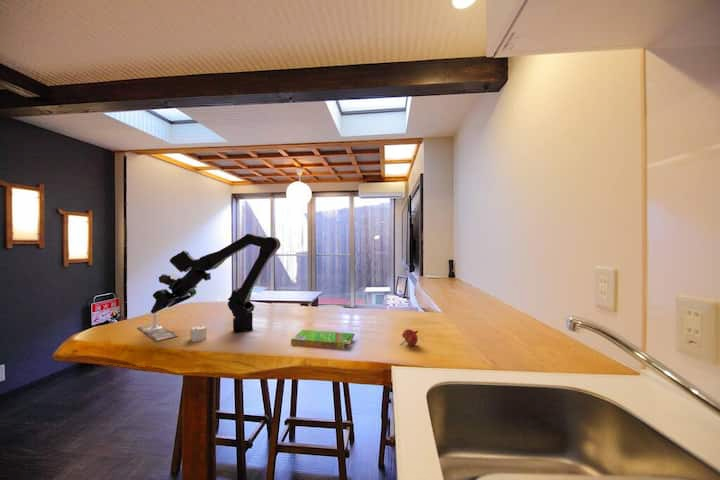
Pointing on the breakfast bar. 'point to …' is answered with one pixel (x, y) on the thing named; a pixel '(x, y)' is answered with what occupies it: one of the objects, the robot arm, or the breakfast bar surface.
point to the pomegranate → (410, 337)
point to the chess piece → (154, 324)
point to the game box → (322, 339)
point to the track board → (157, 333)
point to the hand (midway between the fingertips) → (160, 309)
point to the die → (198, 333)
